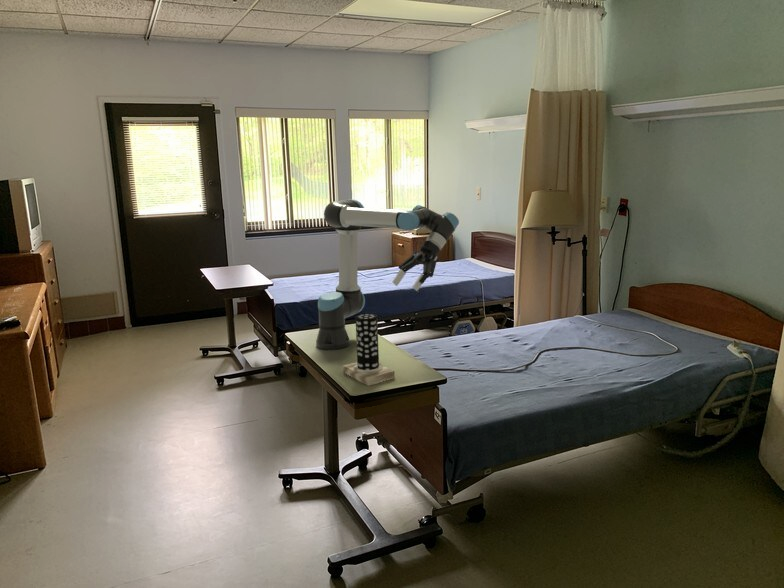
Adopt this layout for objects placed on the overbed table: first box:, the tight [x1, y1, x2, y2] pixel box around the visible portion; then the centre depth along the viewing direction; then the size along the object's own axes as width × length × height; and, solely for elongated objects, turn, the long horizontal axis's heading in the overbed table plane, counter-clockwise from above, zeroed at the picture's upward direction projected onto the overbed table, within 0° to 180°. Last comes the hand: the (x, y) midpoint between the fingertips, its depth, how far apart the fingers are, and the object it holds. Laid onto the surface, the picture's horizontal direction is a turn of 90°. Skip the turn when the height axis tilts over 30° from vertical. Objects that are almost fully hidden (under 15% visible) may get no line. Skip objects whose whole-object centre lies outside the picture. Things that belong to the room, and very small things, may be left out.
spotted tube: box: [354, 313, 380, 370], centre depth 225 cm, size 8×8×20 cm
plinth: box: [342, 361, 395, 386], centre depth 228 cm, size 18×12×4 cm, turn 35°
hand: (404, 286), depth 236 cm, fingers open, 13 cm apart
